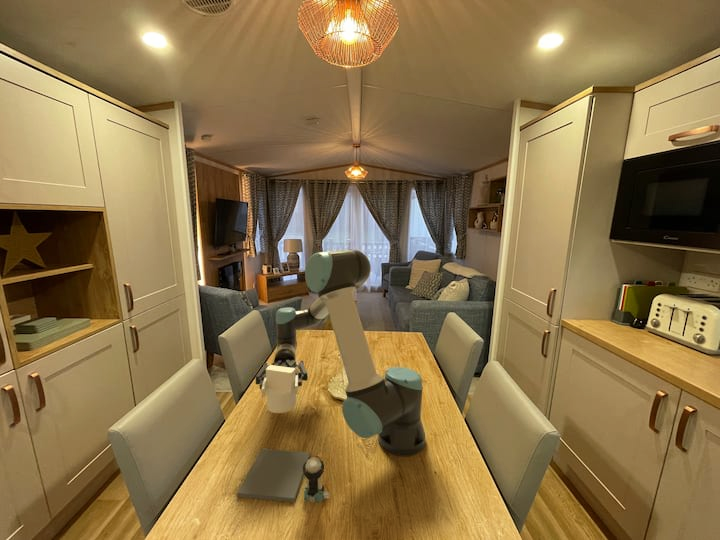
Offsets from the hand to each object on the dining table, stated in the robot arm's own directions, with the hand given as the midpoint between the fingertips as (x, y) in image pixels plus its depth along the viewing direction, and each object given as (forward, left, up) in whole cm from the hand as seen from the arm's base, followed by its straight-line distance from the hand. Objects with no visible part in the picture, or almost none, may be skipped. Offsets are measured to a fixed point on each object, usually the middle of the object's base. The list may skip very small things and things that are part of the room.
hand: (279, 391), depth 91 cm
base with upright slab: (+1, -4, -7) cm, 9 cm away
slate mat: (-2, +10, -19) cm, 21 cm away
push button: (-15, +15, -19) cm, 29 cm away
